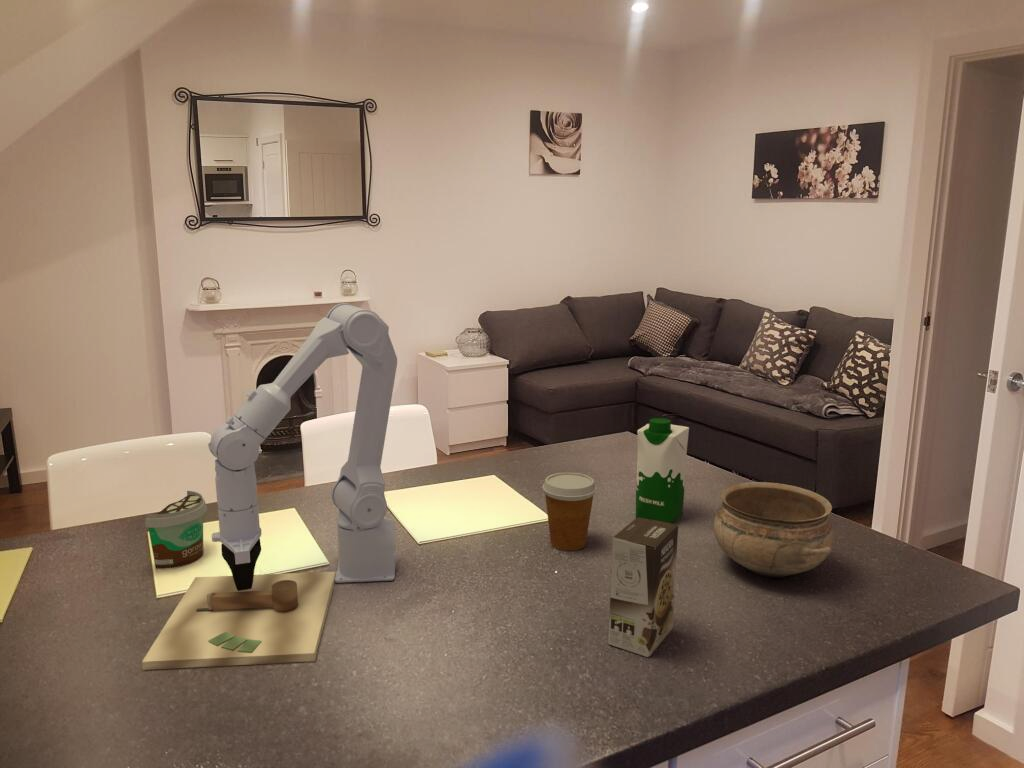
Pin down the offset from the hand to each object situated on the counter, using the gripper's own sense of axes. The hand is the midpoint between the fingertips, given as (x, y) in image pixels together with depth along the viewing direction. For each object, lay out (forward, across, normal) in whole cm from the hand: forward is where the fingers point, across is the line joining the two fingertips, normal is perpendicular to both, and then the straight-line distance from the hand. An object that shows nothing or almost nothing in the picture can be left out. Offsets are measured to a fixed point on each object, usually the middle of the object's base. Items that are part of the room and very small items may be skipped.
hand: (244, 587), depth 121 cm
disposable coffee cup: (+2, -2, +55) cm, 55 cm away
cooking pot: (+2, +19, +83) cm, 85 cm away
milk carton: (+2, -7, +78) cm, 78 cm away
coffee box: (+2, +30, +52) cm, 60 cm away
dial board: (+2, +6, 0) cm, 7 cm away
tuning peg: (+1, +5, +1) cm, 6 cm away
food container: (+2, -19, -8) cm, 21 cm away
